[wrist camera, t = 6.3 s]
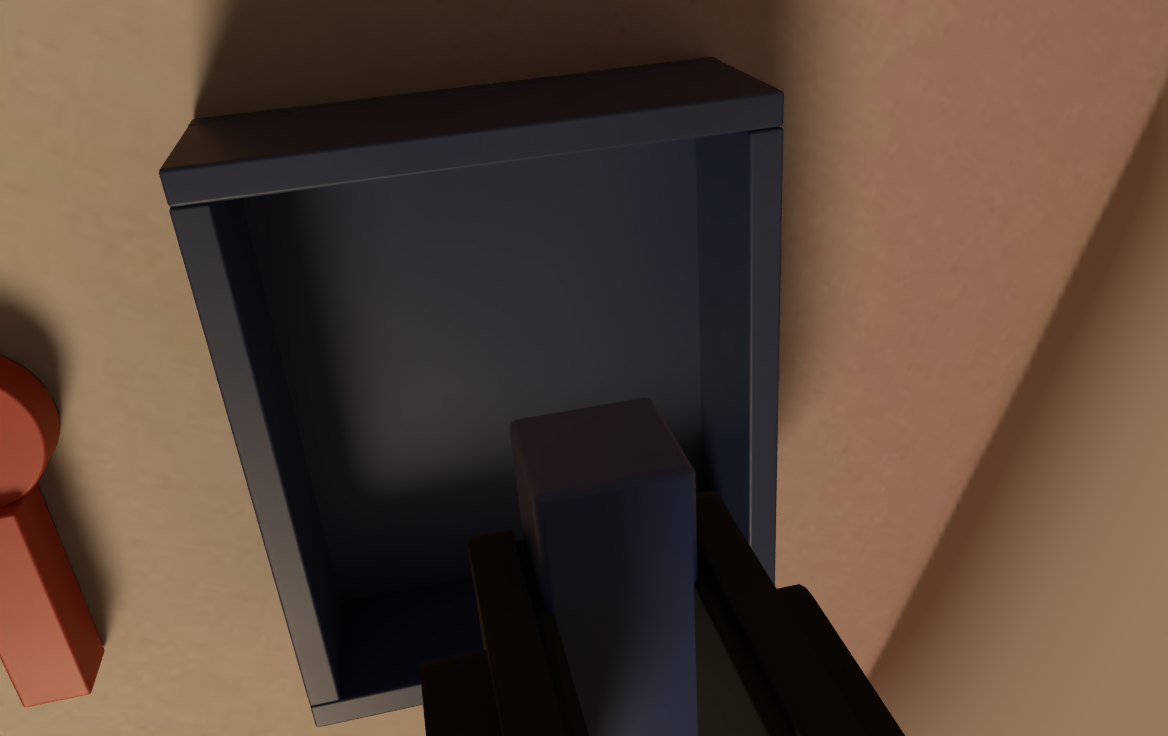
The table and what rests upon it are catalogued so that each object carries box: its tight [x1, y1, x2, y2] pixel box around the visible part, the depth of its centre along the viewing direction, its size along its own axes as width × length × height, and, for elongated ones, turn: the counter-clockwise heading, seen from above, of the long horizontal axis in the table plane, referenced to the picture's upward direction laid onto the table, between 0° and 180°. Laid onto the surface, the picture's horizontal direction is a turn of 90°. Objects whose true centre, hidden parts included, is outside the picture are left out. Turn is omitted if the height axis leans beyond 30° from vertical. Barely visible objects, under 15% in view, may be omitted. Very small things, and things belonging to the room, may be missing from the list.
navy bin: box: [159, 57, 784, 727], centre depth 22 cm, size 13×11×4 cm
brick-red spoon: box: [0, 356, 104, 707], centre depth 23 cm, size 9×4×2 cm, turn 4°
